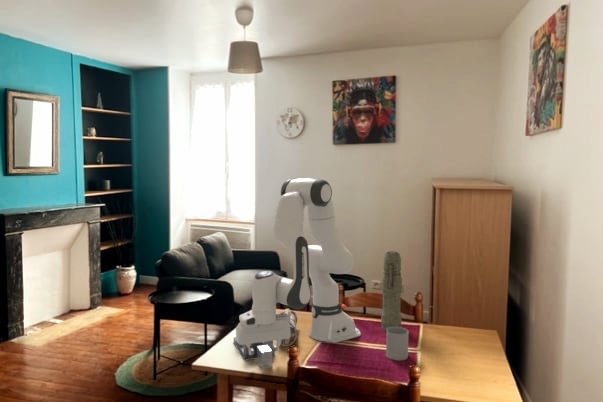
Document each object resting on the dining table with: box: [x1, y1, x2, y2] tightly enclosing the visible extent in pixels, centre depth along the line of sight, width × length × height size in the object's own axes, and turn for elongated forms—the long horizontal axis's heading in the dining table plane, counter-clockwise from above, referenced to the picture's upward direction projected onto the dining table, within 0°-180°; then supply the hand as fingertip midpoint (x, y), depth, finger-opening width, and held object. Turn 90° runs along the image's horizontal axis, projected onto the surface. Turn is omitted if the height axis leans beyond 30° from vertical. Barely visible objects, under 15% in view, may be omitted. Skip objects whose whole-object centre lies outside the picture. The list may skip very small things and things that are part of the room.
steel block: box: [256, 345, 273, 369], centre depth 163 cm, size 4×6×6 cm, turn 22°
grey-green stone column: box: [380, 250, 403, 332], centre depth 197 cm, size 9×12×35 cm
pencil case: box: [279, 308, 298, 347], centre depth 189 cm, size 22×8×10 cm, turn 0°
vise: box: [233, 336, 276, 361], centre depth 176 cm, size 12×18×7 cm, turn 22°
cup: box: [385, 326, 409, 361], centre depth 170 cm, size 8×8×10 cm
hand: (263, 352), depth 162 cm, fingers open, 8 cm apart
